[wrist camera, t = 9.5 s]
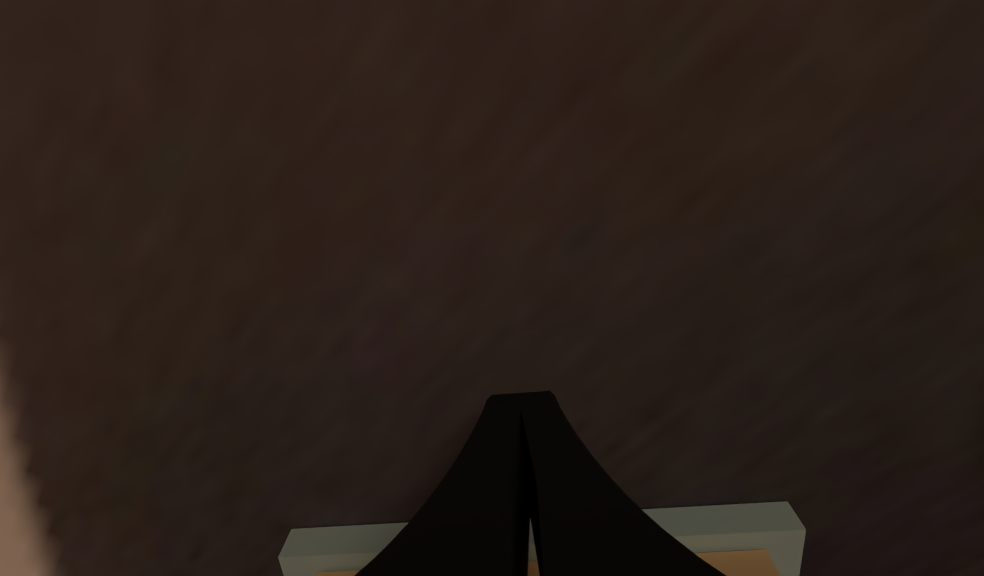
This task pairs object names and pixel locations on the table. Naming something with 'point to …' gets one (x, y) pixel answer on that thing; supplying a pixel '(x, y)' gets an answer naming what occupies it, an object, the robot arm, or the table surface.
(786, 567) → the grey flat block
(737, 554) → the block
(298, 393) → the table surface
